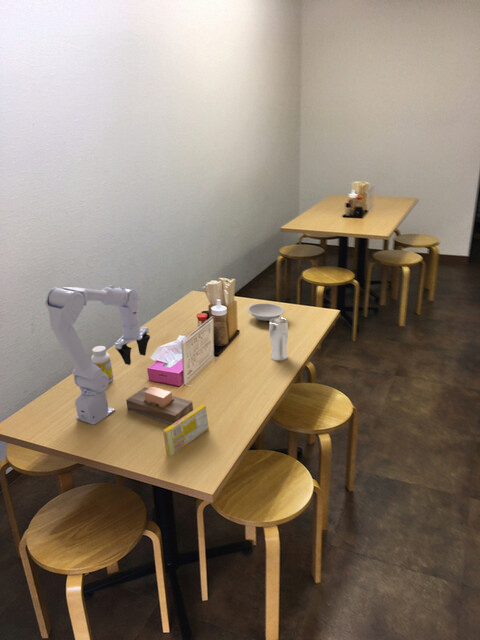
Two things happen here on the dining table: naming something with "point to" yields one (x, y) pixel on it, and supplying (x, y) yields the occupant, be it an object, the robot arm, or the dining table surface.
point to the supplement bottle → (102, 360)
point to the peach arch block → (158, 396)
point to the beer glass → (278, 338)
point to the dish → (265, 311)
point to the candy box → (185, 430)
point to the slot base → (167, 414)
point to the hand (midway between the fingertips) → (135, 359)
